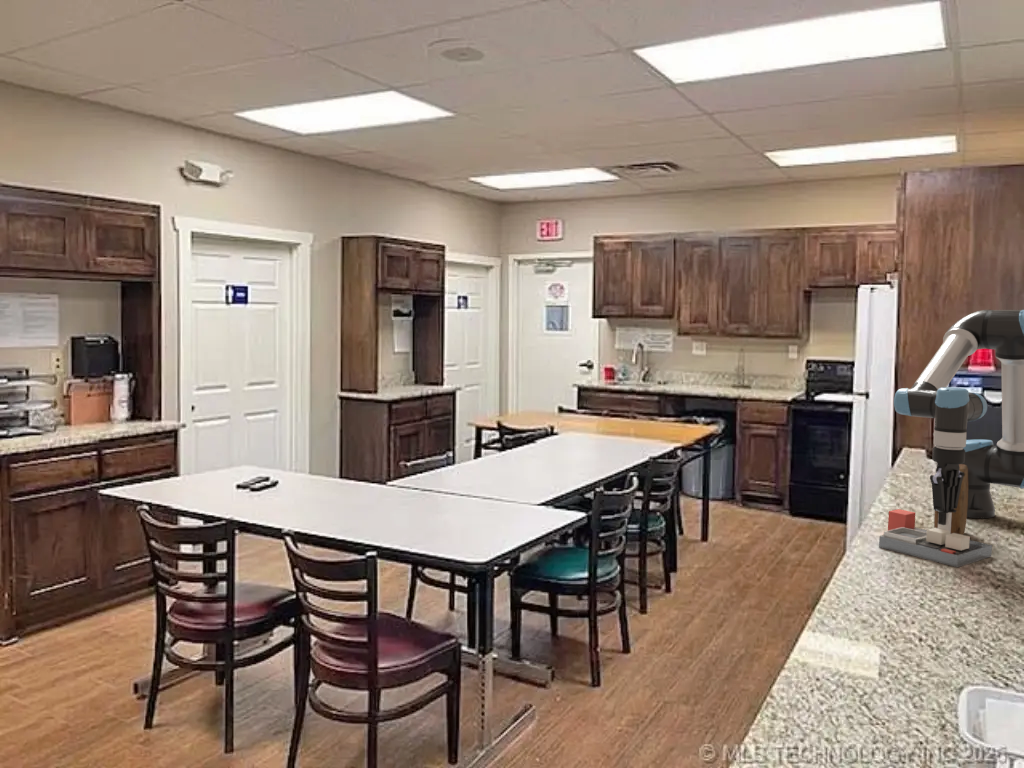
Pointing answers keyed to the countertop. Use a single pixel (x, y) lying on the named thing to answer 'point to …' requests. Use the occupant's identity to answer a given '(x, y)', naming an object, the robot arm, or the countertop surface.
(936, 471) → the robot arm
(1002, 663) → the countertop surface
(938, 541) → the toggle
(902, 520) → the coral toy cube
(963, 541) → the toggle
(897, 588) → the countertop surface
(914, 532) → the panel
